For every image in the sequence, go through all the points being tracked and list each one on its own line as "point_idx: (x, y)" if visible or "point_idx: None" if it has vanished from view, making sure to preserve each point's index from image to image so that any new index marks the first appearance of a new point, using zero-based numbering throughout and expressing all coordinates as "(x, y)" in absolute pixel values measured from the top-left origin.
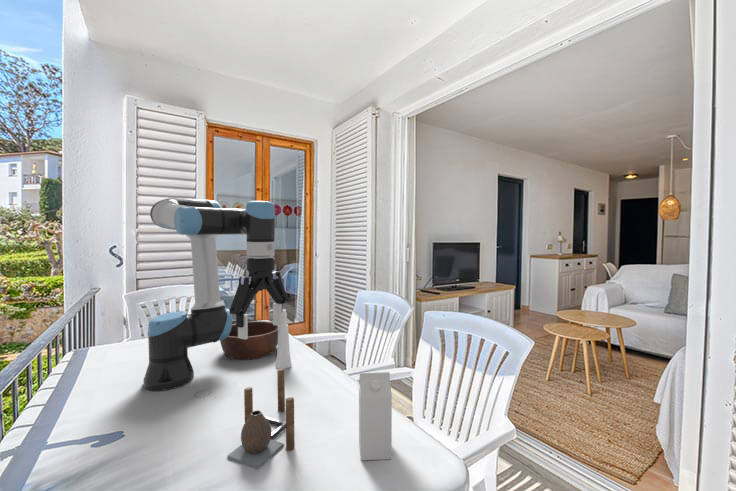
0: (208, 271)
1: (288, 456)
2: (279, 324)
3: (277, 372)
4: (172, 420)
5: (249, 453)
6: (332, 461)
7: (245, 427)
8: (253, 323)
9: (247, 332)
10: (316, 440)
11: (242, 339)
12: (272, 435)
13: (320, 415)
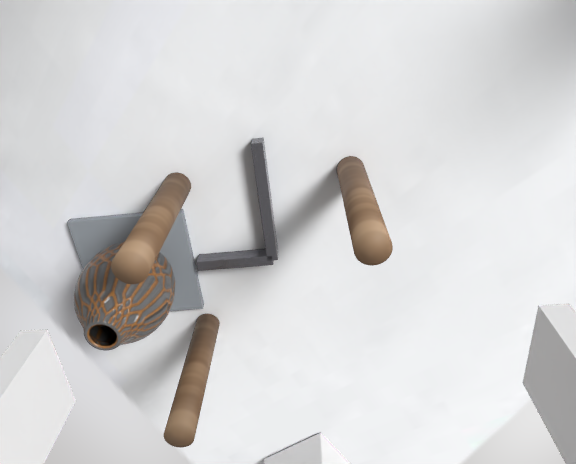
0: None
1: (181, 338)
2: (531, 389)
3: (357, 233)
4: None
5: None
6: (229, 418)
7: (75, 305)
8: None
9: (48, 451)
10: (271, 355)
11: None
12: (202, 269)
13: (384, 298)
